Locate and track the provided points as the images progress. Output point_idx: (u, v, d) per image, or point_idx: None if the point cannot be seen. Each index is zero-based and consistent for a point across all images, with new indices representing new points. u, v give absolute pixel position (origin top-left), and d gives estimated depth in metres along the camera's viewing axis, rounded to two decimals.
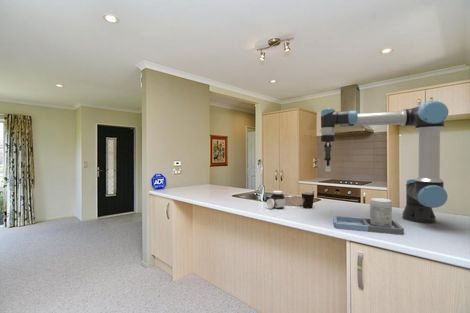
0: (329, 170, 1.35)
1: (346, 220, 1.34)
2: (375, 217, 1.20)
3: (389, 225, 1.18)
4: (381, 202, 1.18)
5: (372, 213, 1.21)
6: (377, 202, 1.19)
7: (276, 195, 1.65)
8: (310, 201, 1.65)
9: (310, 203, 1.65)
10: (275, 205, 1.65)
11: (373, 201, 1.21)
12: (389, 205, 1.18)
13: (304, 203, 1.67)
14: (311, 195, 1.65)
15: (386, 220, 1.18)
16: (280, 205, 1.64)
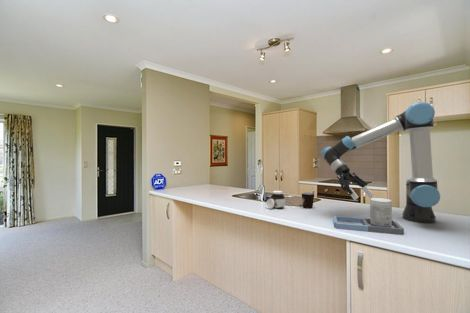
0: (356, 196, 1.26)
1: (346, 220, 1.34)
2: (375, 217, 1.20)
3: (389, 225, 1.18)
4: (381, 202, 1.18)
5: (372, 213, 1.21)
6: (377, 202, 1.19)
7: (276, 195, 1.65)
8: (310, 201, 1.65)
9: (310, 203, 1.65)
10: (275, 205, 1.65)
11: (373, 201, 1.21)
12: (389, 205, 1.18)
13: (304, 203, 1.67)
14: (311, 195, 1.65)
15: (386, 220, 1.18)
16: (280, 205, 1.64)
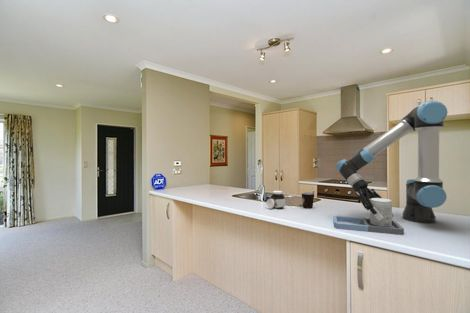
0: (381, 217, 1.17)
1: (346, 220, 1.34)
2: (375, 217, 1.20)
3: (389, 225, 1.18)
4: (381, 202, 1.18)
5: (372, 213, 1.21)
6: (377, 202, 1.19)
7: (276, 195, 1.65)
8: (310, 201, 1.65)
9: (310, 203, 1.65)
10: (275, 205, 1.65)
11: (373, 201, 1.21)
12: (389, 205, 1.18)
13: (304, 203, 1.67)
14: (311, 195, 1.65)
15: (386, 220, 1.18)
16: (280, 205, 1.64)
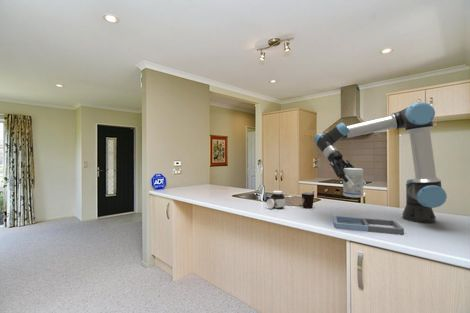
0: (351, 184, 1.21)
1: (346, 220, 1.34)
2: (346, 185, 1.25)
3: (360, 192, 1.23)
4: (352, 170, 1.22)
5: None
6: (349, 170, 1.23)
7: (276, 195, 1.65)
8: (310, 201, 1.65)
9: (310, 203, 1.65)
10: (275, 205, 1.65)
11: (345, 169, 1.25)
12: (360, 173, 1.22)
13: (304, 203, 1.67)
14: (311, 195, 1.65)
15: (357, 187, 1.22)
16: (280, 205, 1.64)
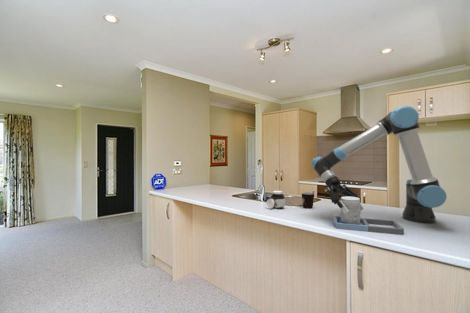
0: (346, 210, 1.22)
1: None
2: (344, 214, 1.25)
3: (357, 222, 1.23)
4: (349, 200, 1.23)
5: (342, 211, 1.26)
6: (346, 200, 1.24)
7: (276, 195, 1.65)
8: (310, 201, 1.65)
9: (310, 203, 1.65)
10: (275, 205, 1.65)
11: (342, 199, 1.26)
12: (357, 203, 1.23)
13: (304, 203, 1.67)
14: (311, 195, 1.65)
15: (355, 217, 1.23)
16: (280, 205, 1.64)
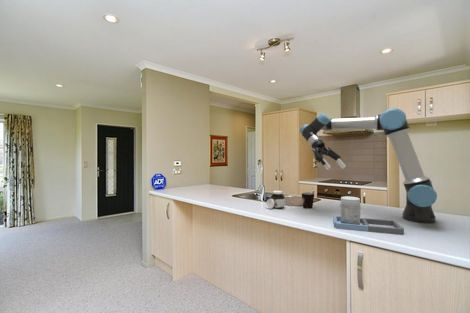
0: (328, 166, 1.36)
1: None
2: (344, 214, 1.25)
3: (357, 222, 1.23)
4: (350, 200, 1.23)
5: (342, 211, 1.26)
6: (346, 200, 1.24)
7: (276, 195, 1.65)
8: (310, 201, 1.65)
9: (310, 203, 1.65)
10: (275, 205, 1.65)
11: (343, 199, 1.26)
12: (357, 203, 1.23)
13: (304, 203, 1.67)
14: (311, 195, 1.65)
15: (355, 217, 1.23)
16: (280, 205, 1.64)
